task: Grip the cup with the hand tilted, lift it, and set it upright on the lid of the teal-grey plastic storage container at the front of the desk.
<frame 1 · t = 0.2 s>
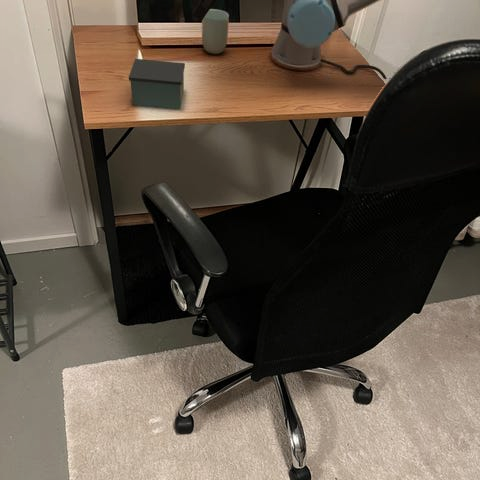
hand: (199, 8, 120), 15 cm above the table, tool tilted 35°, fingers open, 13 cm apart
container: (159, 98, 120), on the table
cup: (214, 52, 141), on the table
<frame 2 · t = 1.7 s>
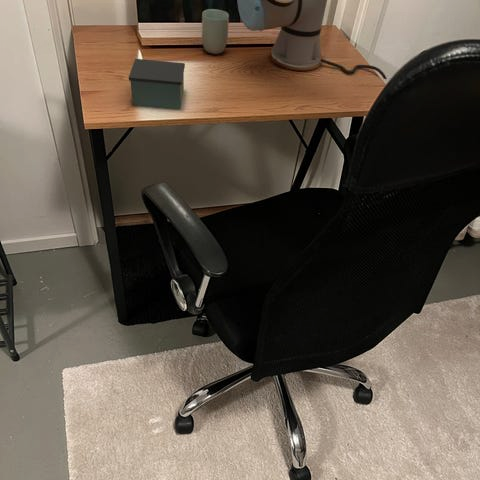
nothing on the table moved.
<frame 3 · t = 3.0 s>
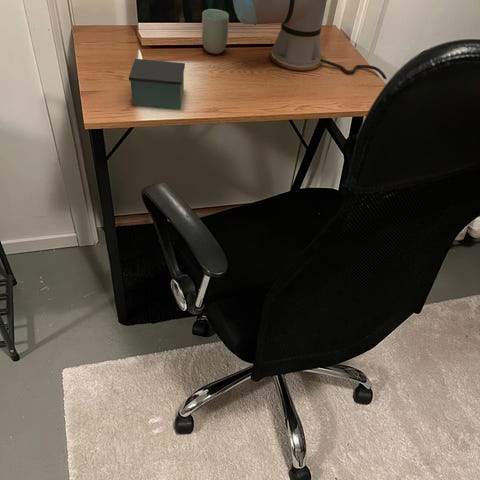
nothing on the table moved.
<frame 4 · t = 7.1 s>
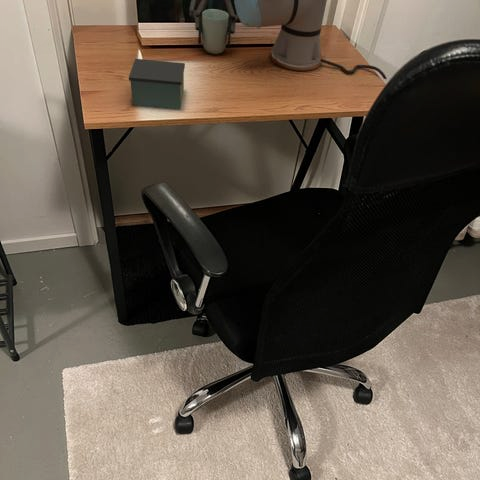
hand: (214, 42, 136), 4 cm above the table, tool tilted 45°, fingers closed on cup, 8 cm apart
cup: (214, 52, 141), on the table, touching gripper
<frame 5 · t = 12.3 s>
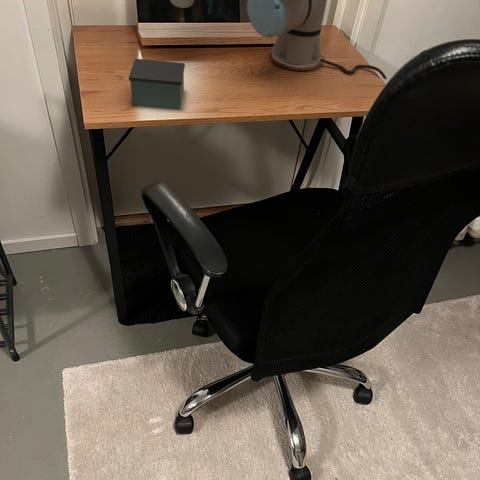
cup: (182, 5, 126), point 13 cm above the table, touching gripper
when the fingers open (11 cm above the table, at t = 17.6 s): cup stays where it is, resting on container.
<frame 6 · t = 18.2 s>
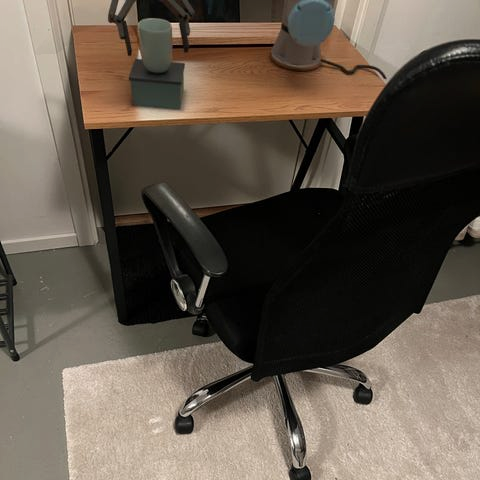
hand: (158, 51, 109), 12 cm above the table, tool tilted 45°, fingers open, 13 cm apart
cup: (157, 70, 115), point 7 cm above the table, touching container
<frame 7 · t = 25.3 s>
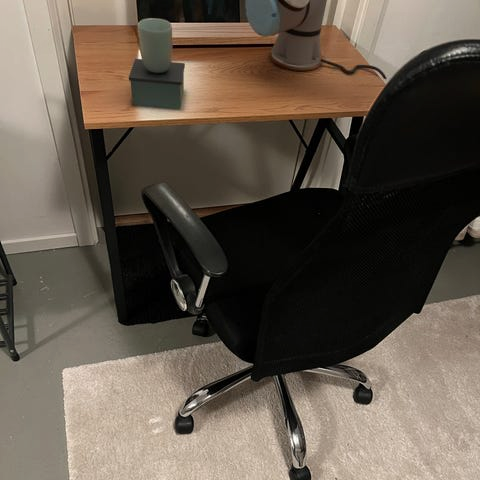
nothing on the table moved.
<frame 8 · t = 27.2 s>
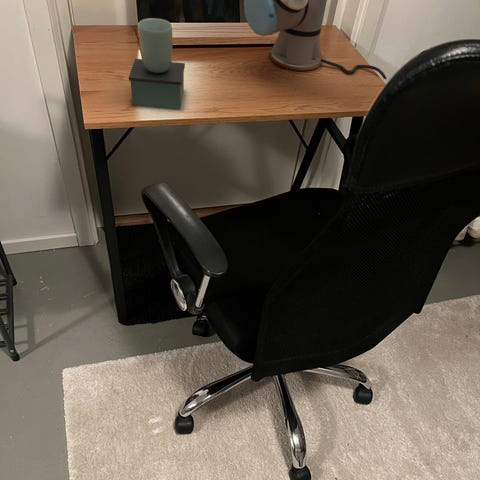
nothing on the table moved.
at the end: cup inside the target area on the container (0.1 cm from its centre), point 6.8 cm above the container's base; cup tilted 0°; the gripper is holding nothing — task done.
